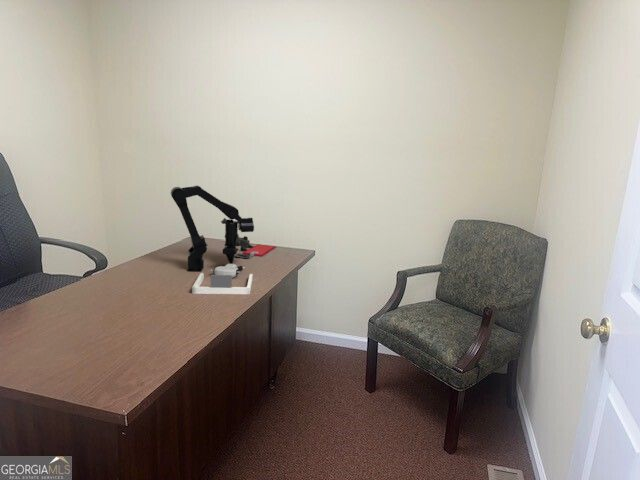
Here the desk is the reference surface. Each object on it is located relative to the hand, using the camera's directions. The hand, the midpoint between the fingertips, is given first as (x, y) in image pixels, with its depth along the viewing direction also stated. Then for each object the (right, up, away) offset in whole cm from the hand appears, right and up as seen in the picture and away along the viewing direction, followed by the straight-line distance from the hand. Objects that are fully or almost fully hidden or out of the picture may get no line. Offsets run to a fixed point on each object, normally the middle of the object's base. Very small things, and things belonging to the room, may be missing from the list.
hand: (231, 264), depth 203 cm
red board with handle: (+6, +4, +30) cm, 31 cm away
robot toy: (+1, -5, -11) cm, 12 cm away
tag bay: (+2, -7, -26) cm, 27 cm away
